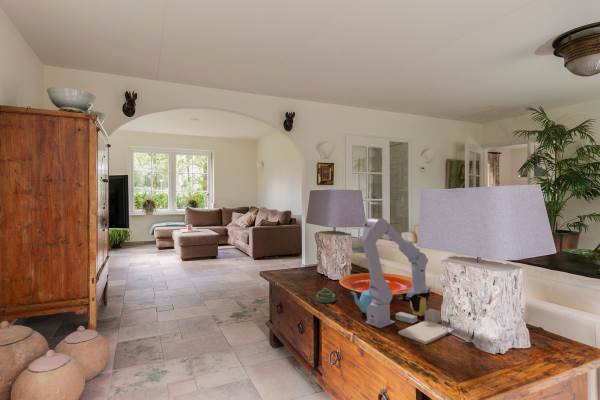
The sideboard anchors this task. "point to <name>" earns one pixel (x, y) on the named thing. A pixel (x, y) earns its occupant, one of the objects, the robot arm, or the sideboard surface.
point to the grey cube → (433, 315)
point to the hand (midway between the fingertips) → (419, 310)
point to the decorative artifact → (325, 296)
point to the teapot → (363, 300)
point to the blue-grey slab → (406, 317)
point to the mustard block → (421, 307)
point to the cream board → (424, 332)
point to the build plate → (404, 298)
